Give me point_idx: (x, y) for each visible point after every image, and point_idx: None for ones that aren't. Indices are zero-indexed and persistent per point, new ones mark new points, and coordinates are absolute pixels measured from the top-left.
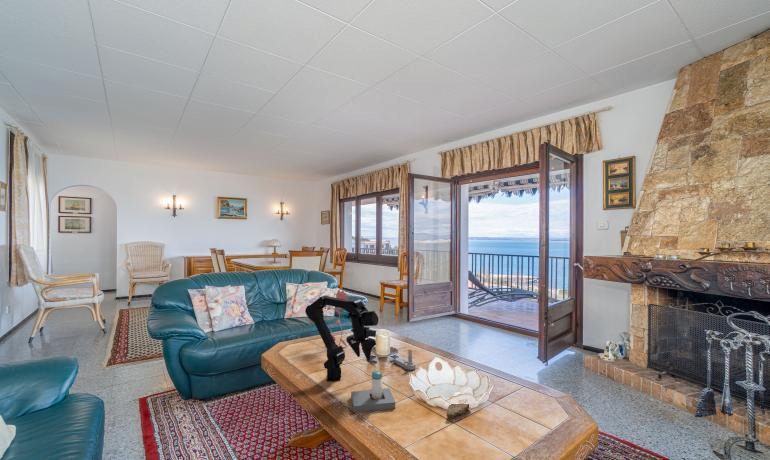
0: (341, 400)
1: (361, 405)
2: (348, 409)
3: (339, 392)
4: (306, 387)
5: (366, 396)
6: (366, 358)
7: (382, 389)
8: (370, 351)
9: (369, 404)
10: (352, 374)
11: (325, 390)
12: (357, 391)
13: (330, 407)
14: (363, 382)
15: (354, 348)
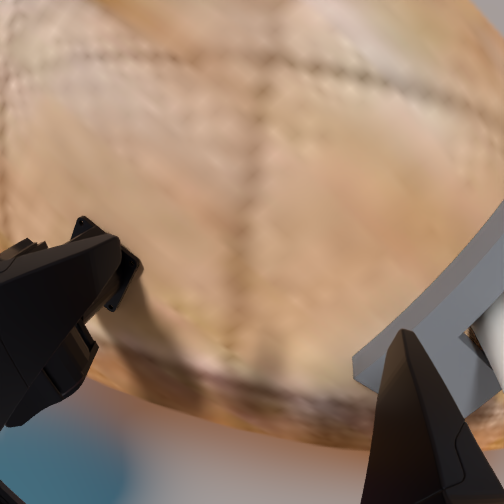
0: (333, 395)
1: (469, 414)
2: None
3: (261, 355)
4: (124, 383)
5: (458, 364)
6: (384, 396)
7: (500, 249)
8: (472, 464)
9: (496, 392)
10: (112, 144)
11: (194, 372)
12: (384, 360)
13: (336, 437)
14: (262, 174)
15: (30, 364)
